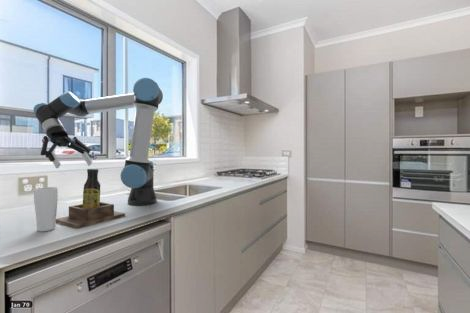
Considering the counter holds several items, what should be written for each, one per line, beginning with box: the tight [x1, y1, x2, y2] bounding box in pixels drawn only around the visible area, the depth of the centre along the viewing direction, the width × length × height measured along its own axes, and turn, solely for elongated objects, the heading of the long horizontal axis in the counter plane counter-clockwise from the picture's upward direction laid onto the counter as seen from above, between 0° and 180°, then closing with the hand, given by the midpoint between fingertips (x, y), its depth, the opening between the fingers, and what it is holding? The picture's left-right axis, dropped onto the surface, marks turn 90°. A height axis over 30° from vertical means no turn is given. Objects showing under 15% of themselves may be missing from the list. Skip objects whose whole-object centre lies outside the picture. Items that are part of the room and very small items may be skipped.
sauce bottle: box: [82, 168, 101, 209], centre depth 101 cm, size 6×6×20 cm
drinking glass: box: [33, 186, 59, 232], centre depth 87 cm, size 7×7×15 cm
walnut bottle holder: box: [56, 201, 126, 229], centre depth 101 cm, size 20×16×6 cm
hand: (75, 165), depth 106 cm, fingers open, 13 cm apart
